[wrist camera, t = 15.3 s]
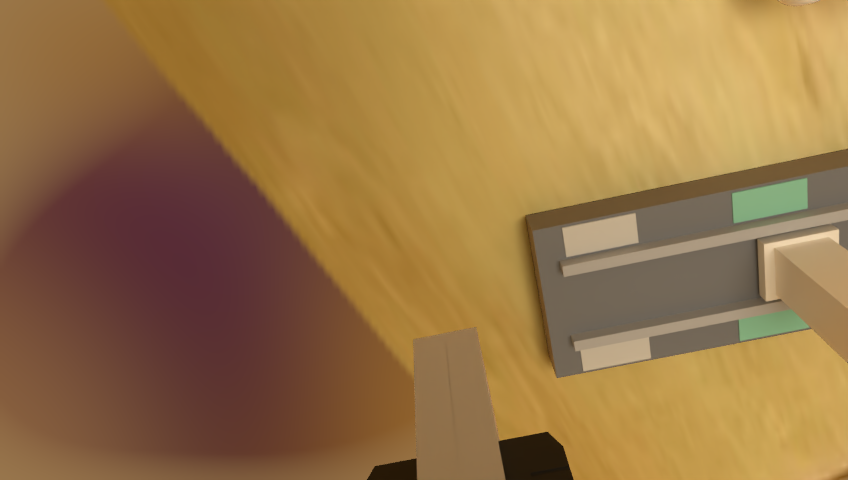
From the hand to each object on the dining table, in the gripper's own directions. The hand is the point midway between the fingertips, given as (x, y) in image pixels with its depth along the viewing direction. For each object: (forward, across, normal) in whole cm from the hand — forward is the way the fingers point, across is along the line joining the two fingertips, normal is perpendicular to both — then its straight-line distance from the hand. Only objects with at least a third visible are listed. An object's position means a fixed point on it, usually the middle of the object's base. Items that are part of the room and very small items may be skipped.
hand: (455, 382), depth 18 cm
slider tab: (+31, +23, -16) cm, 42 cm away
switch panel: (+34, +18, -16) cm, 42 cm away
